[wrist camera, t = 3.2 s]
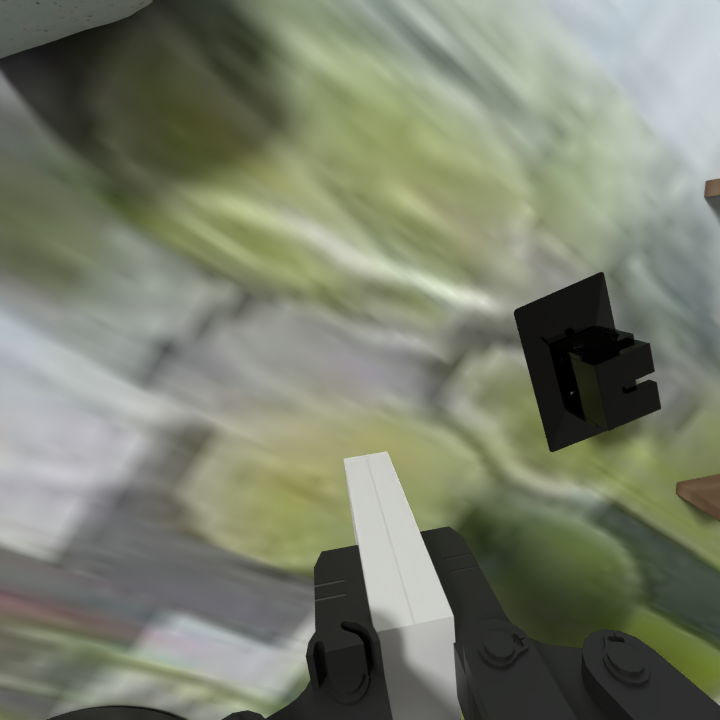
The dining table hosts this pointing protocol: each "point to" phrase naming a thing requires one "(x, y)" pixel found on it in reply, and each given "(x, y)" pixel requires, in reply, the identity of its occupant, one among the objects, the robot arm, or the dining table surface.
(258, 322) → the dining table surface
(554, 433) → the black wall mount bracket
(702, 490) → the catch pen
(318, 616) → the robot arm
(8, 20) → the ceramic mug
